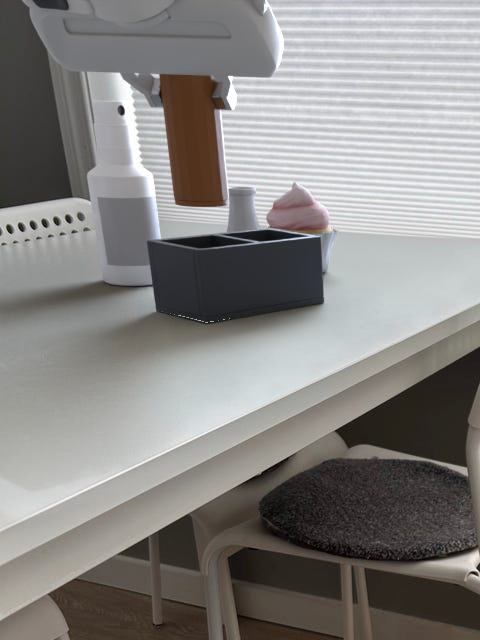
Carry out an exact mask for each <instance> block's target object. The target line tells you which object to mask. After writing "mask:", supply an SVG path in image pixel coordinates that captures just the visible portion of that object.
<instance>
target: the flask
mask: <svg viewBox="0 0 480 640" xmlns="http://www.w3.org/2000/svg"><path fill="white" fill-rule="evenodd" d="M228 191H229V205H228V221H227V229H226V232H235V231H245V230H255V229H261V227H260V223H259V219H258V214H257V210H256V206H255V204H256V203H255V195H256V193H257V187H251V186H228Z"/></svg>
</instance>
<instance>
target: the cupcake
mask: <svg viewBox="0 0 480 640" xmlns="http://www.w3.org/2000/svg"><path fill="white" fill-rule="evenodd" d="M265 219H266V222H267V224H268V225H269V226H265V227H264V228H272V229H278V230H284V231H291V232H297V233H303V234H309V235H315V236H320V237H321V250H322V270H323V273H326V272H328V270H329V266H330V260H331V255H332V250H333V246H334V243H335V240H336V239H337V236H338V233H339V231H340V229H336V228H335V227H332V226H329V224H330V214H329V211H328V208H326V207H325V205H323V204H322V203H321V202H319V201H317V200H315V198H314V196H313V195H312V193H311V192H310V191H309V190H308V189H307V188H305V187H304V186H303V185H301V184H298V183H297V182H296V181H293V182H292V186H291V189H290V190H288V191H287V192H285V193H284V194H282V195H281V196H279V197H277V198H276V199H275V200H274V201H273V203H272V208H271V209H270V210H269V211H268V212H267V213H266V217H265ZM264 228H262V229H264Z"/></svg>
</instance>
